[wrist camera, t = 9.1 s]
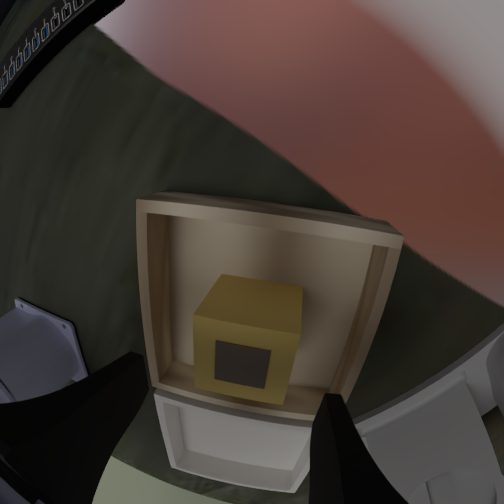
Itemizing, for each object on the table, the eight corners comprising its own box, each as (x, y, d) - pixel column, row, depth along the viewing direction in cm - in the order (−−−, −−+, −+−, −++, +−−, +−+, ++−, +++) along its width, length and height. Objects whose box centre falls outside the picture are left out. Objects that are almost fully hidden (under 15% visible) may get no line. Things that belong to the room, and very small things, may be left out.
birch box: (169, 360, 20) (152, 386, 17) (164, 190, 15) (136, 199, 13) (334, 391, 18) (336, 422, 15) (386, 221, 14) (404, 236, 11)
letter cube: (218, 338, 17) (194, 388, 13) (221, 273, 16) (192, 315, 12) (289, 351, 17) (282, 406, 12) (302, 286, 15) (300, 335, 11)
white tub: (180, 446, 24) (171, 467, 21) (170, 367, 20) (153, 393, 17) (297, 469, 22) (294, 492, 19) (331, 398, 18) (332, 429, 15)
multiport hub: (8, 76, 15) (-9, 75, 13) (117, -29, 11) (101, -40, 9) (11, 109, 16) (-7, 110, 14) (127, 1, 12) (108, -11, 10)
